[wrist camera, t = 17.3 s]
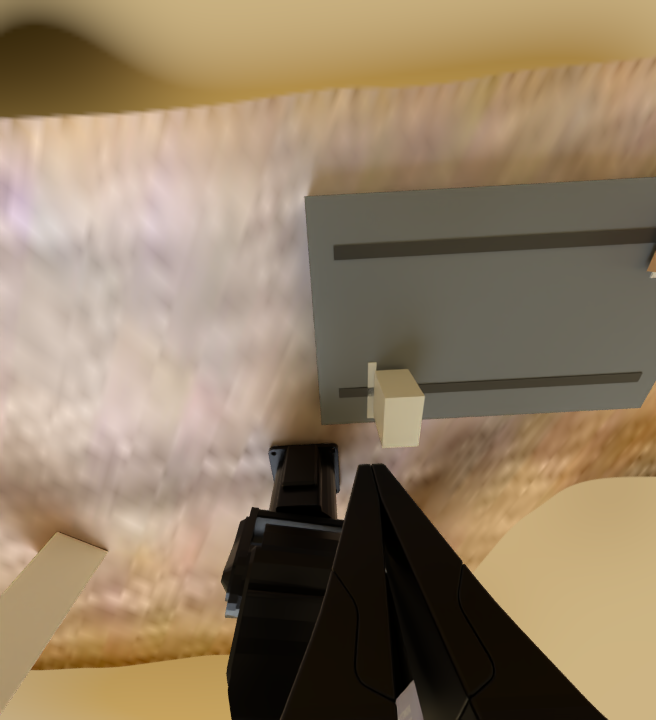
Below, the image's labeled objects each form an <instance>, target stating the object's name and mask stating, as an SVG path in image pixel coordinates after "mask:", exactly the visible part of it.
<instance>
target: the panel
mask: <svg viewBox="0 0 656 720" xmlns="http://www.w3.org/2000/svg"><path fill="white" fill-rule="evenodd" d="M305 210H306V224H307V237H308V250H309V263H310V276H311V289H312V303H313V316H314V329H315V342H316V355H317V368H318V382H319V395H320V408H321V421H322V425H329V424H348V423H367V422H375V420H374V416H373V411H374V378H375V371H379V370H397V369H408V370H409V371H410V373H411V375H412V376H413V378H414V379H415V381H416V383H417V384H418V386H419V387H420V389H421V391H422V392H423V394H424V395H425V399H424V407H423V415H422V420H423V419H441V418H460V417H478V416H497V415H516V414H534V413H553V412H572V411H590V410H609V409H628V408H640V407H641V406H642V404H643V402H644V400H645V399H646V397H647V395H648V393H649V392H650V390H651V388H652V386H653V385H654V383H655V381H656V272H649V271H647V269H648V267H649V265H650V262H651V260H652V258H653V256H654V254H655V251H656V177H646V178H628V179H610V180H592V181H574V182H556V183H538V184H520V185H502V186H484V187H467V188H449V189H431V190H413V191H395V192H377V193H359V194H341V195H323V196H305Z"/></svg>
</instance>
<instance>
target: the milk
mask: <svg viewBox="0 0 656 720" xmlns="http://www.w3.org/2000/svg"><path fill="white" fill-rule="evenodd" d="M107 553H108V551H105V550H103V549H100V548H98V547H95V546H93V545H90V544H88V543H85V542H83V541H80V540H77V539H75V538H72V537H70V536H67V535H65V534H62V533H60V532H56V533H55V534H54V536H53V537H52V538H51V539H50V540H49V541H48V542H47V544H46V545H45V546H44V547H43V548H42V549H41V550H40V551H39V553H38V554H37V555H36V556H35V557H34V558H33V559H32V561H31V562H30V563H29V564H28V565H27V566H26V567H25V569H24V570H23V571H22V572H21V573H20V574H19V575H18V577H17V578H16V579H15V580H14V581H13V582H12V583H11V585H10V586H9V587H8V588H7V589H6V590H5V591H4V593H3V594H2V595H1V596H0V715H1V713H2V712H3V710H4V709H5V707H6V706H7V704H8V703H9V701H10V700H11V698H12V697H13V695H14V694H15V692H16V691H17V689H18V688H19V686H20V685H21V683H22V682H23V680H24V678H25V677H26V675H27V674H28V673H29V671H30V670H31V668H32V667H33V665H34V664H35V662H36V661H37V659H38V657H39V656H40V654H41V653H42V651H43V650H44V648H45V647H46V645H47V644H48V642H49V641H50V639H51V638H52V636H53V635H54V633H55V632H56V630H57V629H58V627H59V626H60V624H61V623H62V621H63V620H64V618H65V617H66V615H67V614H68V612H69V611H70V609H71V608H72V606H73V605H74V603H75V602H76V600H77V599H78V597H79V596H80V594H81V593H82V591H83V590H84V588H85V587H86V585H87V583H88V582H89V580H90V579H91V577H92V576H93V574H94V573H95V571H96V570H97V568H98V567H99V565H100V564H101V562H102V561H103V559H104V558H105V556H106V555H107Z"/></svg>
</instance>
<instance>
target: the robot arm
mask: <svg viewBox="0 0 656 720" xmlns="http://www.w3.org/2000/svg"><path fill="white" fill-rule="evenodd" d="M332 448H333V449H332ZM268 454H269V459H270V464H271V469H272V474H273V479H274V487H273V492H272V497H271V503H270V508H269V510H261V509H259V508H255V507H252V509H251V512H250V516H249V517H246V519H245V520H242V521H240V524H239V528H238V531H237V535H236V539H235V542H234V545H233V548H232V550H231V553H230V556H229V558H228V561H227V563H226V566H225V569H224V571H223V575H222V579H221V583H222V585H223V587H224V589H225V591H226V598H225V601H227V607H226V613H225V618H237V623H236V628H235V632H234V637H233V642H232V647H231V652H230V656H229V661H228V666H227V673H226V674H227V683H228V697H229V704H230V712H231V719H232V720H398V713H397V705H396V689H395V677H394V665H393V653H392V641H391V629H390V617H389V605H388V593H387V581H386V572H387V576H388V580H389V584H390V588H391V592H392V596H393V600H394V604H395V608H396V612H397V616H398V620H399V624H400V628H401V632H402V636H403V640H404V644H405V647H406V651H407V655H408V659H409V663H410V667H411V671H412V675H413V679H414V683H415V687H416V691H417V695H418V699H419V703H420V707H421V711H422V715H423V719H424V720H608V719H607V718H606V717H604V716H603V715H602V714H601V713H600V712H599V711H598V710H597V709H596V708H595V707H594V706H593V705H592V704H591V703H590V702H589V701H588V700H587V699H586V698H585V697H584V696H583V695H582V694H581V693H580V692H579V690H578V689H577V688H576V687H575V686H574V685H573V684H572V683H571V682H570V681H569V680H568V679H567V678H566V677H565V676H564V675H563V673H562V672H561V671H560V670H559V669H558V668H557V667H556V666H555V665H554V664H553V663H552V662H551V661H550V660H549V659H548V658H547V656H546V655H545V654H544V653H543V652H542V651H541V650H540V649H539V648H538V647H537V646H536V645H535V644H534V643H533V642H532V641H531V639H530V638H529V637H528V636H527V635H526V634H525V633H524V632H523V631H522V630H521V629H520V628H519V627H518V626H517V624H515V622H514V621H513V620H512V619H511V618H510V617H509V616H508V615H507V613H506V612H505V611H504V610H503V609H502V608H501V607H500V606H499V605H498V604H497V602H496V601H495V600H494V599H493V598H492V597H491V595H490V594H489V593H488V592H487V591H486V590H485V588H484V587H483V586H482V585H481V584H480V582H479V581H478V580H477V579H476V578H475V576H474V575H473V574H472V573H471V571H470V570H469V569H468V568H467V566H466V565H465V564H463V565H462V563H463V562H462V560H461V559H460V558H459V557H458V555H457V554H456V553H455V552H454V550H453V549H452V548H451V547H450V545H449V544H448V543H447V542H446V540H445V539H444V538H443V537H442V535H441V534H440V533H439V532H438V530H437V529H436V528H435V527H434V525H433V524H432V523H431V522H430V520H429V519H428V518H427V517H426V515H425V514H424V513H423V512H422V511H421V509H420V508H419V507H418V506H417V504H416V503H415V502H414V501H413V499H412V498H411V497H410V496H409V494H408V493H407V492H406V491H405V489H404V488H403V487H402V486H401V484H400V483H399V482H398V481H397V479H396V478H395V477H394V476H393V474H392V473H391V472H390V471H389V469H388V468H387V467H386V466H385V465H384V464H382V463H380V464H372V465H370V464H361V465H359V466H358V468H357V472H356V476H355V480H354V484H353V488H352V492H351V496H350V499H349V503H348V507H347V511H346V515H345V519H344V520H339V519H337V504H336V494H337V493H339V491H340V487H339V465H338V447H337V445H336V444H333V443H330V444H311V445H293V446H274V447H271V448H270V449H269V453H268Z"/></svg>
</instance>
